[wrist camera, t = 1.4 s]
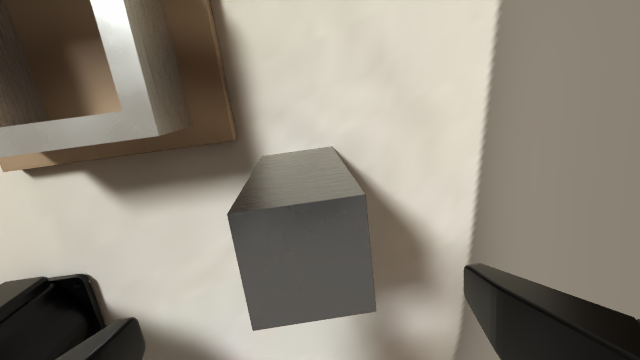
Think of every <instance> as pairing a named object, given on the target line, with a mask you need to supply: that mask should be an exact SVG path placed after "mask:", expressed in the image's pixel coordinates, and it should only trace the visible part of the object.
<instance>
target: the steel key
mask: <svg viewBox="0 0 640 360" xmlns="http://www.w3.org/2000/svg"><path fill="white" fill-rule="evenodd" d="M227 216H228V220H229V225H230V229H231V234H232V238H233V243H234V247H235V252H236V257H237V261H238V266H239V270H240V275H241V279H242V284H243V288H244V293H245V297H246V302H247V306H248V311H249V316H250V320H251V325H252V329H253V331H255V330H261V329H267V328H274V327H280V326H287V325H293V324H299V323H306V322H312V321H318V320H325V319H331V318H338V317H344V316H350V315H357V314H363V313H370V312H376V302H375V292H374V281H373V270H372V260H371V249H370V238H369V228H368V217H367V207H366V196H365V193H364V192H363V190H362V189H361V187H360V186H359V184H358V183H357V182H356V180H355V179H354V177H353V176H352V174H351V173H350V172H349V170H348V169H347V167H346V166H345V164H344V163H343V161H342V160H341V159H340V157H339V156H338V154H337V153H336V151H335V150H334V148H333V147H325V148H318V149H311V150H303V151H296V152H289V153H282V154H275V155H267V156H262V157H261V159H260V161H259V162H258V164H257V166H256V167H255V169H254V171H253V172H252V174H251V176H250V177H249V179H248V181H247V182H246V184H245V186H244V187H243V189H242V191H241V192H240V194H239V195H238V197H237V199H236V200H235V202H234V204H233V205H232V207H231V209H230V210H229V212H228V214H227Z"/></svg>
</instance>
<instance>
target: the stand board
mask: <svg viewBox="0 0 640 360" xmlns="http://www.w3.org/2000/svg"><path fill="white" fill-rule="evenodd" d="M5 1H6V4H7V7H8V10H9V13H10V16H11V18H12V21H13V24H14V27H15V30H16V33H17V35H18V38H19V41H20V44H21V47H22V50H23V52H24V55H25V58H26V61H27V64H28V67H29V69H30V72H31V75H32V78H33V81H34V84H35V86H36V89H37V92H38V95H39V98H40V101H41V103H42V106H43V109H44V112H45V115H46V118H47V120H48V121H52V120H60V119H67V118H75V117H83V116H90V115H98V114H105V113H113V112H121V111H122V108H121V105H120V101H119V98H118V95H117V91H116V88H115V84H114V81H113V77H112V74H111V70H110V67H109V63H108V60H107V56H106V53H105V49H104V46H103V43H102V39H101V36H100V32H99V29H98V25H97V22H96V18H95V15H94V11H93V8H92V4H91V1H90V0H5ZM164 5H165V9H166V13H167V18H168V22H169V26H170V30H171V35H172V39H173V43H174V48H175V52H176V56H177V60H178V65H179V69H180V73H181V78H182V82H183V86H184V91H185V95H186V99H187V103H188V108H189V112H190V116H191V121H192V125H193V127H189V128H186V129H182V130H178V131H175V132H171V133H168V134H164V135H161V136H155V137H148V138H140V139H133V140H126V141H118V142H111V143H103V144H96V145H89V146H81V147H74V148H66V149H59V150H52V151H44V152H37V153H29V154H22V155H14V156H7V157H0V165H1V168H2V170H3V172H8V171H15V170H22V169H30V168H37V167H44V166H52V165H59V164H66V163H73V162H81V161H88V160H95V159H103V158H110V157H117V156H125V155H132V154H139V153H147V152H154V151H161V150H169V149H176V148H183V147H191V146H198V145H205V144H213V143H220V142H227V141H234V140H235V139H237V136H236V131H235V126H234V120H233V115H232V110H231V105H230V100H229V95H228V90H227V85H226V80H225V75H224V70H223V65H222V60H221V55H220V50H219V45H218V40H217V35H216V30H215V25H214V20H213V14H212V9H211V4H210V0H164Z"/></svg>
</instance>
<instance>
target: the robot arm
mask: <svg viewBox="0 0 640 360" xmlns="http://www.w3.org/2000/svg"><path fill="white" fill-rule="evenodd" d="M77 281H78V282H80V284H79V283H77ZM464 295H465V298H466V300H467V302H468V304H469V306H470V307H471V309H472V311H473V313H474V315H475V316H476V318H477V320H478V322H479V323H480V325H481V327H482V329H483V330H484V332H485V334H486V336H487V338H488V339H489V341H490V343H491V344H492V346H493V348H494V350H495V351H496V353H497V354H498V356H499V357H500V359H501V360H640V319H637V320H636V319H635V318H634V317H632V316H629V315H626V314H623V313H620V312H617V311H614V310H611V309H609V308H606V307H603V306H600V305H598V304H594V303H592V302H589V301H586V300H583V299H581V298H578V297H575V296H572V295H569V294H566V293H563V292H561V291H558V290H555V289H552V288H549V287H546V286H544V285H541V284H538V283H535V282H532V281H529V280H527V279H523V278H521V277H518V276H515V275H512V274H510V273H506V272H504V271H501V270H498V269H495V268H492V267H490V266H487V265H484V264H481V263H476V264H470V265H466V266H465V267H464ZM144 352H145V340H144V337H143V334H142V331H141V328H140V325H139V322H138V320H137V319H136V318H134V317H131V318H124V319H119V320H117V321H115V322H114V323H112V324H110V325H109V326H107V327H105V324H104V321H103V318H102V316H101V313H100V310H99V308H98V305H97V302H96V299H95V297H94V294H93V291H92V289H91V286H90V283H89V280H88V278H87V277H86V276H85V275H82V274H74V275H68V276H61V277H54V278H47V277H36V278H29V279H22V280H16V281H9V282H4V283H2V284H1V285H0V360H142V358H143V356H144Z"/></svg>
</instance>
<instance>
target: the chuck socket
mask: <svg viewBox="0 0 640 360" xmlns="http://www.w3.org/2000/svg"><path fill="white" fill-rule="evenodd" d="M90 1H91V4H92V8H93V11H94V15H95V18H96V22H97V25H98V29H99V32H100V36H101V39H102V43H103V46H104V49H105V53H106V56H107V60H108V63H109V67H110V70H111V74H112V77H113V81H114V84H115V88H116V91H117V95H118V98H119V101H120V105H121V108H122V111H121V112H113V113H105V114H98V115H90V116H83V117H75V118H67V119H60V120H52V121H48V120H47V118H46V115H45V112H44V109H43V106H42V103H41V101H40V98H39V95H38V92H37V89H36V86H35V84H34V81H33V78H32V75H31V72H30V69H29V67H28V64H27V61H26V58H25V55H24V52H23V50H22V47H21V44H20V41H19V38H18V35H17V33H16V30H15V27H14V24H13V21H12V18H11V16H10V13H9V10H8V7H7V4H6V1H5V0H0V157H7V156H14V155H22V154H29V153H37V152H44V151H52V150H59V149H66V148H74V147H81V146H89V145H96V144H103V143H111V142H118V141H126V140H133V139H140V138H148V137H155V136H161V135H164V134H168V133H171V132H175V131H178V130H182V129H186V128H189V127H193V125H192V121H191V116H190V112H189V108H188V103H187V99H186V95H185V91H184V86H183V82H182V78H181V73H180V69H179V65H178V60H177V56H176V52H175V48H174V43H173V39H172V35H171V30H170V26H169V22H168V18H167V13H166V9H165V5H164V0H90Z"/></svg>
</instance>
